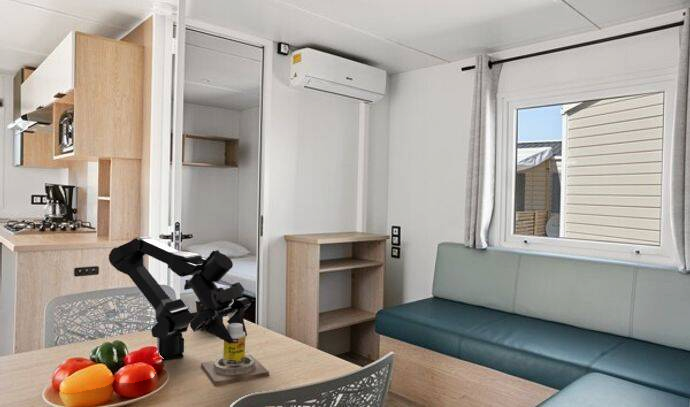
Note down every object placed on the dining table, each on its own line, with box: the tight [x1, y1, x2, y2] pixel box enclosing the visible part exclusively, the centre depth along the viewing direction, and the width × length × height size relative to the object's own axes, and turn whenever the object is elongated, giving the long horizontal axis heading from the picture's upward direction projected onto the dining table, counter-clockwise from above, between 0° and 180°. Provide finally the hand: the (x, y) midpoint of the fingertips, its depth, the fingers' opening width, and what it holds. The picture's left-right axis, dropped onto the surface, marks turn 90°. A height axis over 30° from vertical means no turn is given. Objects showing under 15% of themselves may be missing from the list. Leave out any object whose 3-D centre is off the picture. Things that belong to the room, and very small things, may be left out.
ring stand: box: [200, 354, 270, 386], centre depth 123 cm, size 14×14×2 cm
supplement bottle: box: [222, 323, 247, 366], centre depth 123 cm, size 6×6×10 cm
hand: (238, 339), depth 123 cm, fingers closed on supplement bottle, 5 cm apart
